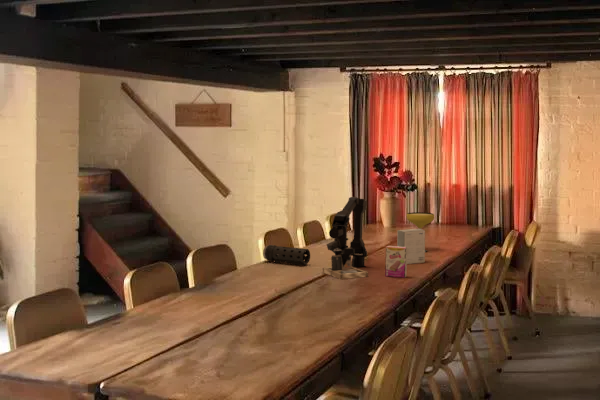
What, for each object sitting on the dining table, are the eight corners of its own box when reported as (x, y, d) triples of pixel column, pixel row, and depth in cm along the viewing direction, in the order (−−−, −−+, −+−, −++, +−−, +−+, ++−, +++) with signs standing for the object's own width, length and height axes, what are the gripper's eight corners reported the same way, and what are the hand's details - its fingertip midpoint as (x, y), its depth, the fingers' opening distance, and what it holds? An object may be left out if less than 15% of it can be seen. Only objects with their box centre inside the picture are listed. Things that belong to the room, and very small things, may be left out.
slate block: (355, 275, 408) (355, 270, 408) (357, 277, 404) (357, 271, 403) (341, 276, 407) (341, 270, 406) (343, 277, 402) (343, 272, 401)
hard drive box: (417, 260, 457) (418, 228, 455) (425, 262, 450) (426, 230, 449) (396, 262, 450) (397, 229, 449) (403, 264, 444) (404, 231, 442)
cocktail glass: (401, 249, 502) (402, 212, 500) (426, 248, 506) (427, 212, 504) (412, 253, 484) (413, 215, 482) (437, 252, 489) (438, 215, 486)
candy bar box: (384, 276, 405) (385, 246, 404) (386, 275, 410) (387, 245, 408) (405, 278, 401) (405, 247, 400) (407, 276, 406) (407, 246, 405)
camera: (335, 274, 408) (334, 255, 408) (330, 273, 413) (329, 255, 413) (353, 272, 413) (352, 253, 413) (348, 271, 418) (347, 253, 418)
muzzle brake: (302, 267, 431) (302, 249, 430) (262, 262, 446) (262, 245, 445) (310, 264, 440) (310, 247, 439) (270, 260, 454) (270, 243, 453)
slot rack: (349, 270, 422) (349, 266, 422) (368, 276, 404) (368, 272, 404) (322, 272, 415) (322, 268, 415) (340, 279, 396) (340, 274, 396)
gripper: (320, 235, 417) (320, 262, 418) (336, 239, 400) (336, 268, 401) (338, 233, 422) (337, 261, 423) (354, 238, 405) (354, 266, 406)
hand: (341, 264), depth 413 cm, fingers closed on camera, 5 cm apart
